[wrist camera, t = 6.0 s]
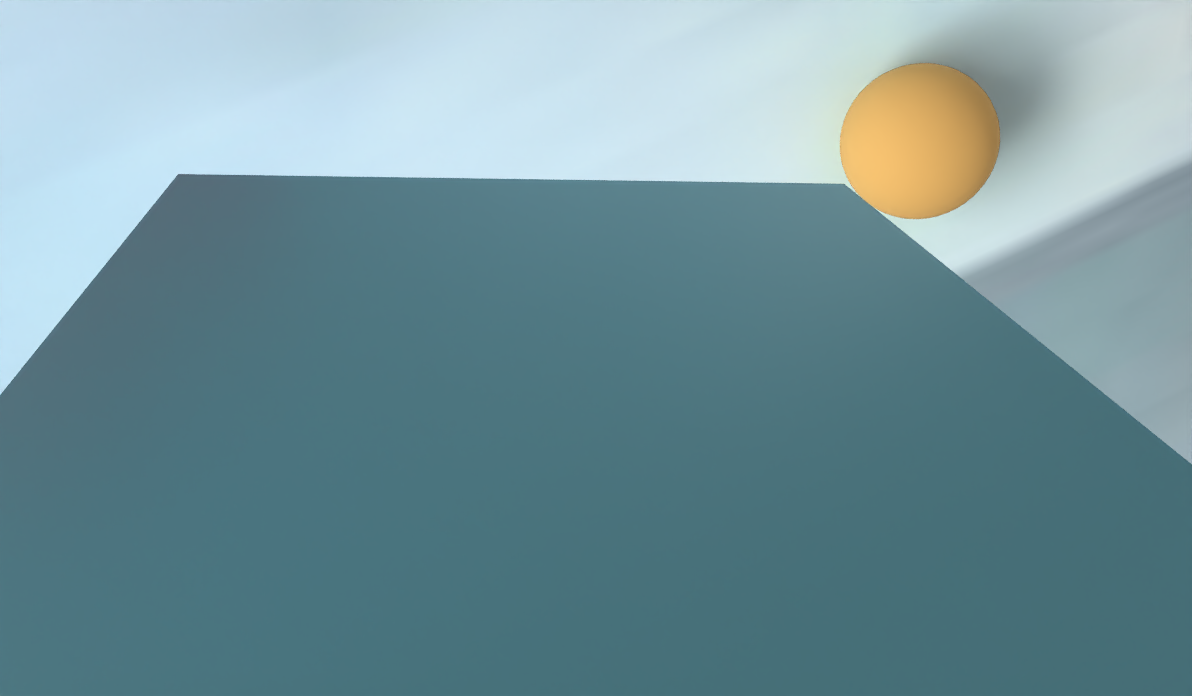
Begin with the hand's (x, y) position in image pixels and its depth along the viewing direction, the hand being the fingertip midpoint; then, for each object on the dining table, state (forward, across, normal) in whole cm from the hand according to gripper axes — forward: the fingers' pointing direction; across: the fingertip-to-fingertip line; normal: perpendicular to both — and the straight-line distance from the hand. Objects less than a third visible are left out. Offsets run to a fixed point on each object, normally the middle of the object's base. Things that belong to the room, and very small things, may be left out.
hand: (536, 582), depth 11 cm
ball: (+23, -14, 0) cm, 27 cm away
